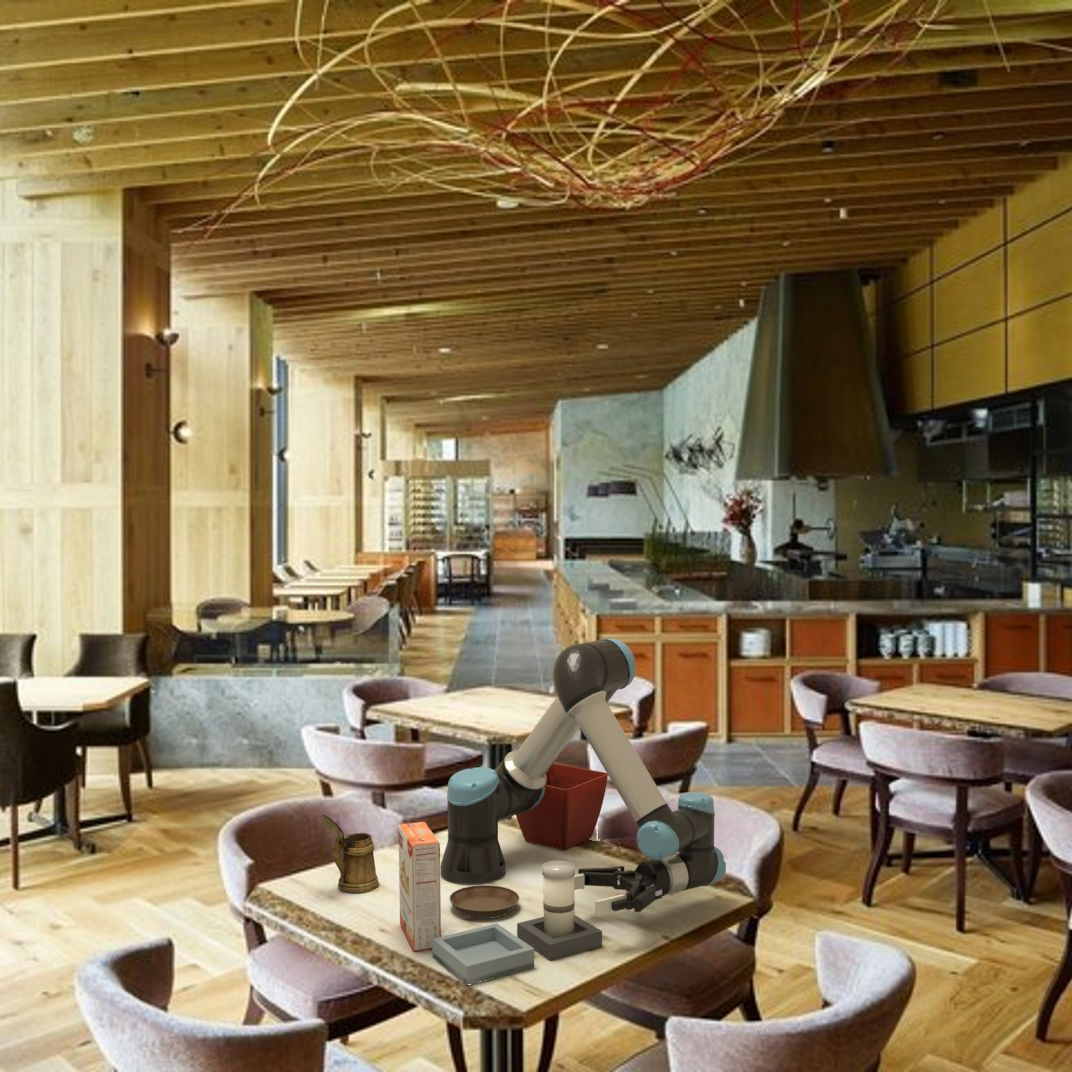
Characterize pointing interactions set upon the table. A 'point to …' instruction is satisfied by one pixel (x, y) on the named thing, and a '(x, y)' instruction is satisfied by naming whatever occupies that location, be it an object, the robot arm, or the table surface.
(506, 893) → the saucer
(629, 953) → the table surface
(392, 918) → the table surface
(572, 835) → the plant pot
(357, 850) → the wooden mug
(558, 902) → the cylinder
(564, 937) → the dark grey square frame
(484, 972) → the tray
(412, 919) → the cracker box
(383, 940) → the table surface
